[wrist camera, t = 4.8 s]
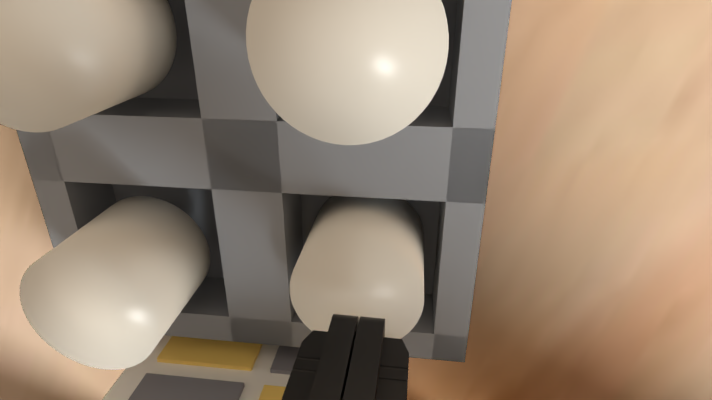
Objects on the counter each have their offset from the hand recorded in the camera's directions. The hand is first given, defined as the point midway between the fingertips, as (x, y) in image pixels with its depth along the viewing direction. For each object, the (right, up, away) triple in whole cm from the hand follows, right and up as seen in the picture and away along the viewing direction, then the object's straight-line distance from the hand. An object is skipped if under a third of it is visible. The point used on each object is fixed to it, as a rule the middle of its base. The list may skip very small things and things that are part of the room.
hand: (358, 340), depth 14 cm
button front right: (0, +9, 0) cm, 9 cm away
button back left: (-8, +2, +5) cm, 9 cm away
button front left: (-8, +9, +1) cm, 12 cm away
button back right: (0, +3, +5) cm, 6 cm away
